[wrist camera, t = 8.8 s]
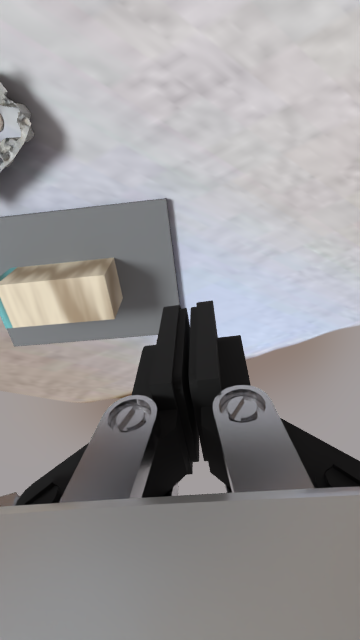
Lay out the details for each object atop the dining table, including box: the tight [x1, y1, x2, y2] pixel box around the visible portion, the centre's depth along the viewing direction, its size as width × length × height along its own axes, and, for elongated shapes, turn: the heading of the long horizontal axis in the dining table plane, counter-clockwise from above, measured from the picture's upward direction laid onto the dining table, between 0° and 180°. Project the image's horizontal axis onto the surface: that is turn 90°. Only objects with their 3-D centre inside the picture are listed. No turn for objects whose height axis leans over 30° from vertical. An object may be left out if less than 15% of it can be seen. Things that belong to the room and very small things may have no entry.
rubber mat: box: [0, 198, 180, 346], centre depth 39 cm, size 22×16×1 cm
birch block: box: [0, 258, 123, 328], centre depth 37 cm, size 5×5×12 cm
